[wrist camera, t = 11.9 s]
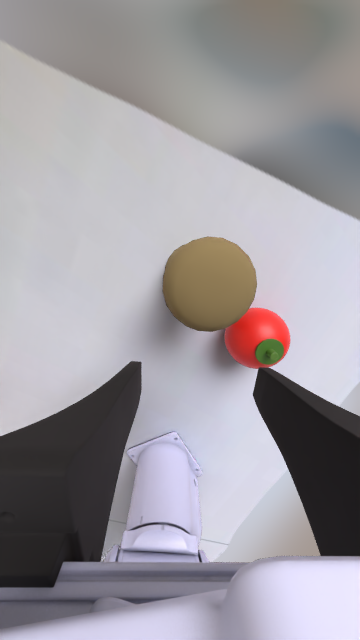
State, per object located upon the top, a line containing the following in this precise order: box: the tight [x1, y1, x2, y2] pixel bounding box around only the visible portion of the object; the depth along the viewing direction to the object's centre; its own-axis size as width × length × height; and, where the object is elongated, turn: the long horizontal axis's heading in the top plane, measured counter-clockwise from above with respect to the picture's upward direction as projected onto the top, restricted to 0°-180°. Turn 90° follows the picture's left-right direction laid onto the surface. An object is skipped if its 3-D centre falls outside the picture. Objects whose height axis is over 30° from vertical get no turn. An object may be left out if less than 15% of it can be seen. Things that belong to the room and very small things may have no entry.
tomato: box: [225, 308, 290, 369], centre depth 18 cm, size 6×6×7 cm
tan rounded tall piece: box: [163, 237, 257, 332], centre depth 14 cm, size 6×6×11 cm
